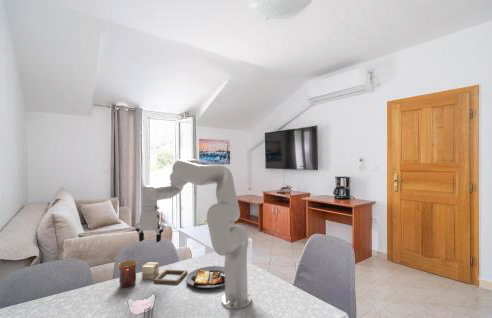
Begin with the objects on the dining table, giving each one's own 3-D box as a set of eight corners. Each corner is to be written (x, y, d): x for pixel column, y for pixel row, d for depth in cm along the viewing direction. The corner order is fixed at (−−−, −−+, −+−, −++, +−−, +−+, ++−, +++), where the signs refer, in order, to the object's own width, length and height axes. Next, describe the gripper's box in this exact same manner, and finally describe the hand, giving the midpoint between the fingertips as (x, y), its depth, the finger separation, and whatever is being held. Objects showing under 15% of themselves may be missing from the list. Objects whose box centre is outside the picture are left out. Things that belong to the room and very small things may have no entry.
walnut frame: (177, 284, 125) (177, 281, 125) (153, 282, 127) (153, 279, 127) (187, 273, 137) (187, 270, 137) (165, 272, 139) (165, 269, 139)
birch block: (152, 278, 131) (152, 267, 132) (142, 278, 133) (142, 266, 133) (158, 273, 137) (158, 262, 137) (148, 273, 138) (148, 262, 139)
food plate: (232, 291, 116) (232, 283, 116) (181, 292, 117) (181, 284, 117) (235, 270, 141) (235, 263, 141) (193, 271, 142) (193, 264, 142)
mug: (118, 282, 128) (118, 261, 128) (137, 279, 131) (137, 259, 131) (116, 293, 117) (116, 271, 117) (137, 289, 120) (136, 267, 120)
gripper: (168, 207, 138) (168, 239, 137) (138, 207, 141) (139, 238, 141) (161, 210, 130) (161, 244, 130) (130, 209, 133) (130, 242, 133)
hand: (150, 241), depth 135 cm, fingers open, 9 cm apart
